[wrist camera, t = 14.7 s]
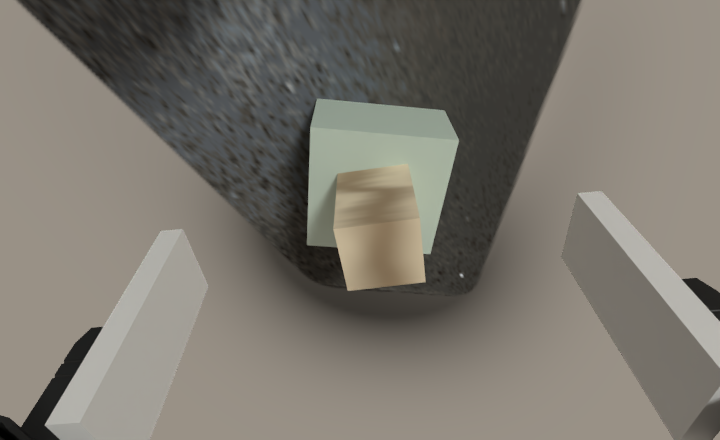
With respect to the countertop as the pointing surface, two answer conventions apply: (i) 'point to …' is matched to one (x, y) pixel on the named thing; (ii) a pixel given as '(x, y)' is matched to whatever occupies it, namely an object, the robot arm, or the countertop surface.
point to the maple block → (378, 228)
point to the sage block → (377, 158)
